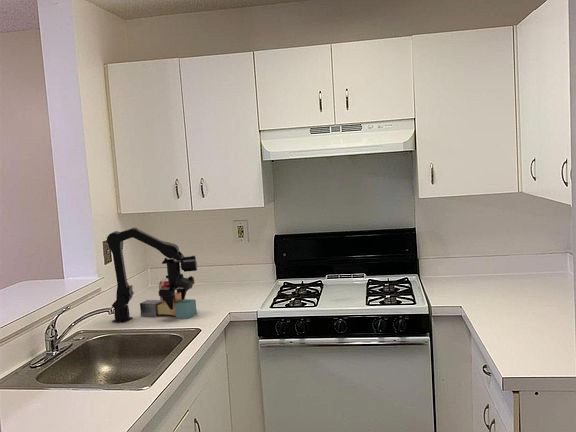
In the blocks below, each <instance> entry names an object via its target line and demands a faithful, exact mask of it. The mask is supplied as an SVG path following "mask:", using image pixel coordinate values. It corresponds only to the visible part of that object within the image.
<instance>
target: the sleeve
mask: <svg viewBox="0 0 576 432" xmlns="http://www.w3.org/2000/svg"><path fill="white" fill-rule="evenodd" d="M158 303H162V300H160V299H146V300H145V301H142V302H140V303H139V309H140V310H139V311H140V316H141V317H148V318H149V317H150V318H151V317H154V318H155V317H158V316H161V315H162V314H157V312H156V304H158Z"/></svg>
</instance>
